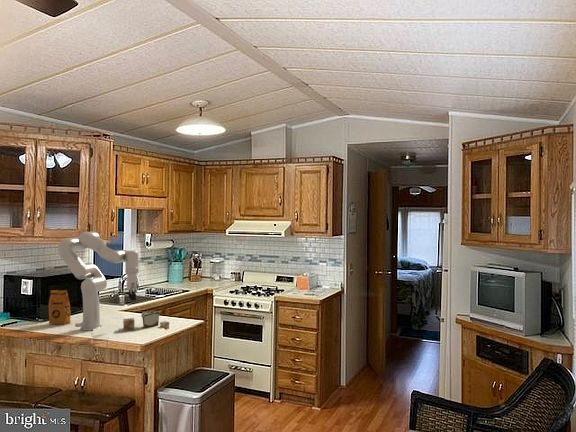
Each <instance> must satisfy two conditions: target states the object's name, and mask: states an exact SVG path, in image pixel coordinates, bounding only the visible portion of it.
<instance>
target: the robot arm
mask: <svg viewBox="0 0 576 432" xmlns="http://www.w3.org/2000/svg"><path fill="white" fill-rule="evenodd" d="M85 249H90V250H92V251H94V252H95V253H97V254H98V255H99V256H100V258H102V260H104V261H107V262H109V263H112V264H120V263H125V264H124V265H125V270H124V271H125V274H126V289H127V291H128V299H129V300H130V301H136V300H137V294H136V292H137V291H136V290H137V281H138V280H137V276H138V275H137V274H139V252H138V251H139V250H127V249H126V250H125V249H120V250H114V249H111V248H110V247H108V246H107V240H105V239H102V238H101V236H100V234H99V233H98V232H96V231H84V232H82V233H80V234H79V236H78V237H77V236H76V237H75V236H74V237H66V238H63V239H61V240H60V241H59V243H58V246H57V251H58V255H59V257H60V258H61V260H62V261H63V262H64V263H65V264H66V266H67V267H68V269H69V270H70V271H71V273H72V275H74V277H75V278H76V279H77V280H83V281H82V282H81V285H80V290H81V295H82V322H80V323H79V322H78V323H74V326H75V327H77V328H80V329H79V330H80V331H82V332H92V331H94V329H100V328H102V327H103V325H102V324H101V323H100V315H101V314H100V313H101V311H100V310H101V309H100V308H101V307H100V306H101V305H100V296H99V293H98V292H101V291H103V290H105V289H106V288H107V286H108V282H107V279H106V277H105V276H104V275H103V273H102V272H101V270H100V269H99V268H98V266H97V265H95V264H94V263H91V262H86V263H85V262H84V261H83V260H82V259H81V257H80V256H79V255H78V254H77V253H75V252H76V251H82V250H85Z"/></svg>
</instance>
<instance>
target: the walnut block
mask: <svg viewBox="0 0 576 432" xmlns="http://www.w3.org/2000/svg"><path fill="white" fill-rule="evenodd" d="M122 321H123V326H122V328H123V329H124V331H128V332H131V331H130V330H135V327H136V326H135V318H134V317H131V318H122Z"/></svg>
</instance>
